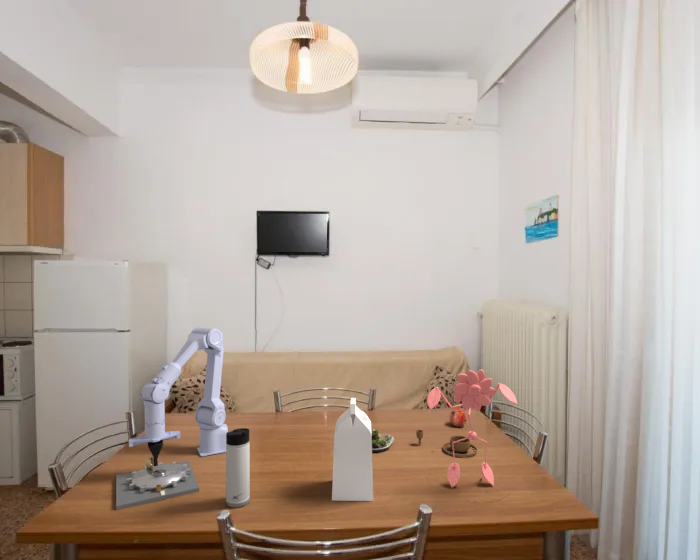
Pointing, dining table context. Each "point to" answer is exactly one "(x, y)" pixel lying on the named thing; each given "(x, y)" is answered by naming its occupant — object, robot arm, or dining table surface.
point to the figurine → (472, 394)
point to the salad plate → (380, 441)
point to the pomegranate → (458, 417)
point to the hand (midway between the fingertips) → (155, 464)
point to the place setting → (458, 446)
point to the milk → (352, 457)
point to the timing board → (136, 497)
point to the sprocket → (158, 476)
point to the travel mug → (237, 468)
